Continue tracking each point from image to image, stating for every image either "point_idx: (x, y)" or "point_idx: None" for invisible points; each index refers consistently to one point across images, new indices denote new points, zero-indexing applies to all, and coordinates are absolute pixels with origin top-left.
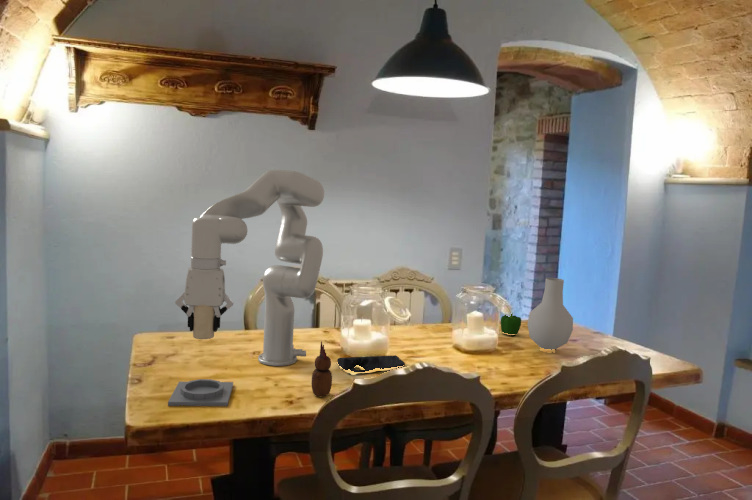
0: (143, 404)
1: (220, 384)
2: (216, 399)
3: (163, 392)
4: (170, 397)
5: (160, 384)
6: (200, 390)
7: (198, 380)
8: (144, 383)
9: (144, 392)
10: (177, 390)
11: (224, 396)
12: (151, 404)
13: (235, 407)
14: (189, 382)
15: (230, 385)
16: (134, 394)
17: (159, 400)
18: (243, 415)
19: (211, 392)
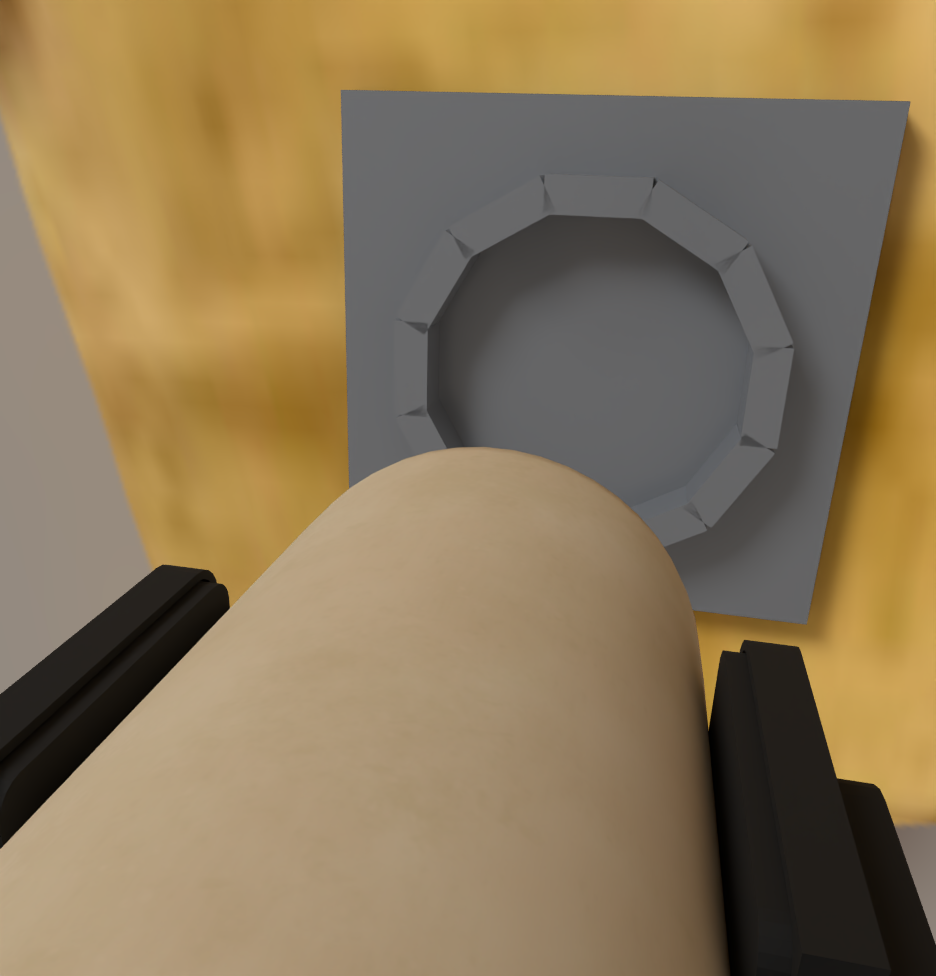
0: (197, 514)
1: (759, 341)
2: (715, 557)
3: (266, 285)
4: (349, 483)
5: (191, 78)
6: (567, 343)
7: (529, 217)
8: (56, 53)
9: (128, 280)
10: (371, 336)
11: (787, 498)
12: (247, 519)
13: (868, 639)
14: (449, 274)
15: (868, 210)
16: (75, 321)
17: (280, 452)
18: (915, 778)
19: (671, 542)
